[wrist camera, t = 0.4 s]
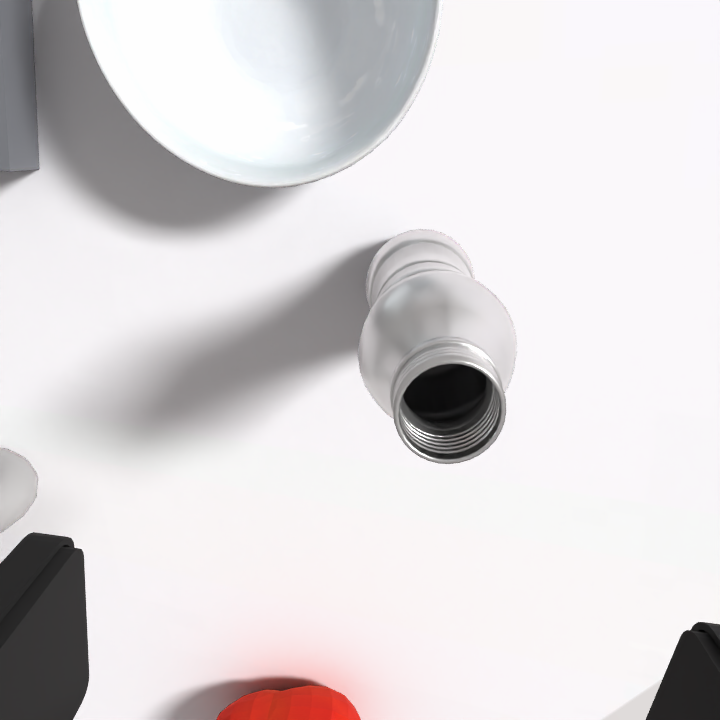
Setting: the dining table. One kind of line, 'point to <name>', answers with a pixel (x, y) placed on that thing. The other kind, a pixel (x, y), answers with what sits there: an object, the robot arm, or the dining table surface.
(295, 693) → the tomato
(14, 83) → the button panel
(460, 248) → the plastic bottle
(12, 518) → the donut
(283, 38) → the cereal bowl
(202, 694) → the dining table surface
